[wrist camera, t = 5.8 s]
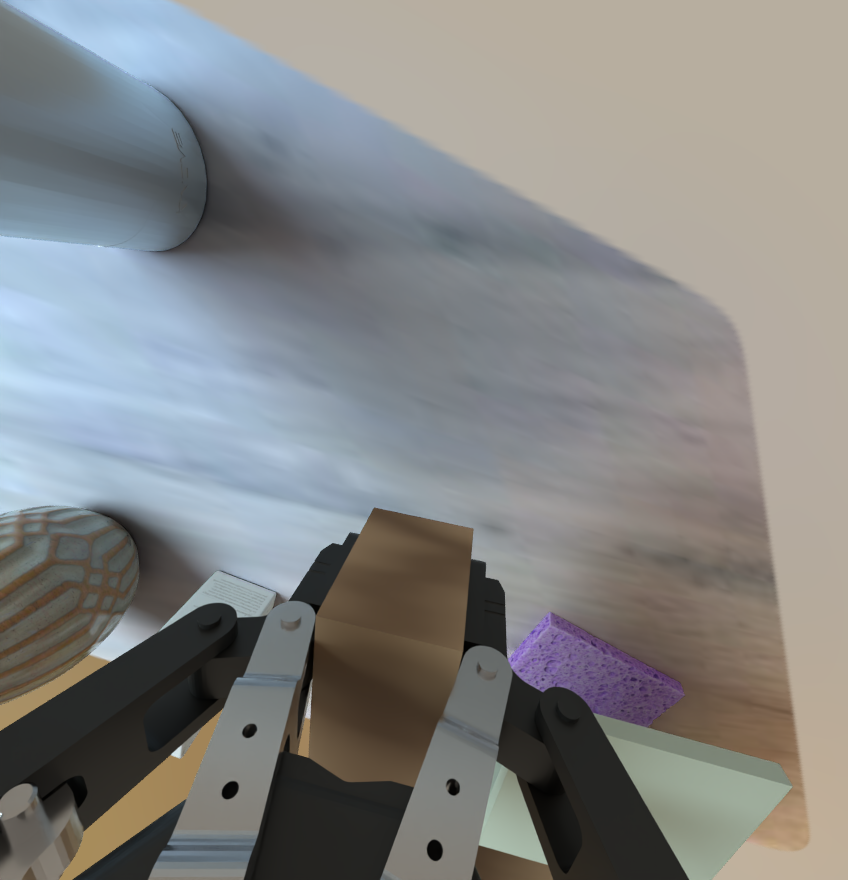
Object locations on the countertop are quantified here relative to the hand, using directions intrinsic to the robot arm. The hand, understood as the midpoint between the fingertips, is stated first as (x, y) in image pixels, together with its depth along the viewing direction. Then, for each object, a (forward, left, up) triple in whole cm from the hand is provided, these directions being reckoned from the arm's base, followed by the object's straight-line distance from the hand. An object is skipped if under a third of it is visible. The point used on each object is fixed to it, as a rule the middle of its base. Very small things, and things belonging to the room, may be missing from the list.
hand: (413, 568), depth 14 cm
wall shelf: (+16, -21, -15) cm, 30 cm away
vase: (-30, -19, -15) cm, 38 cm away
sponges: (+16, -19, -16) cm, 29 cm away
